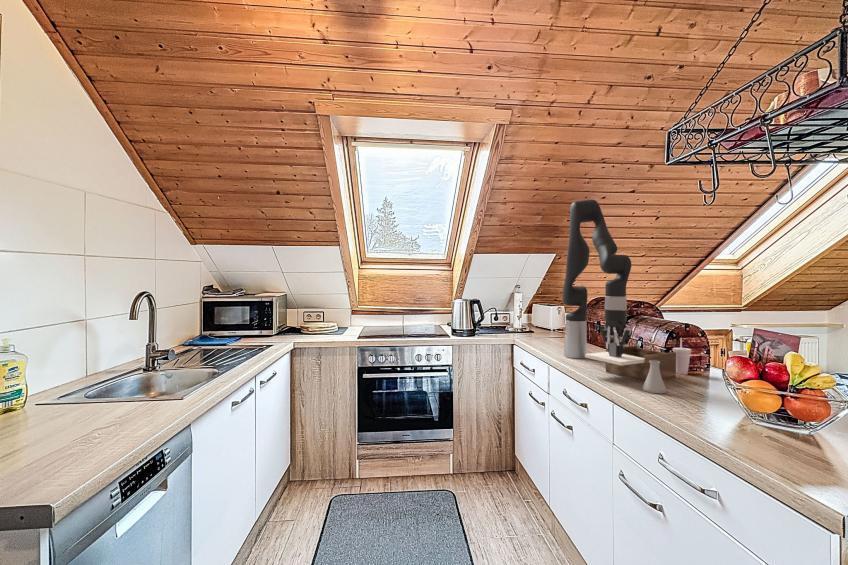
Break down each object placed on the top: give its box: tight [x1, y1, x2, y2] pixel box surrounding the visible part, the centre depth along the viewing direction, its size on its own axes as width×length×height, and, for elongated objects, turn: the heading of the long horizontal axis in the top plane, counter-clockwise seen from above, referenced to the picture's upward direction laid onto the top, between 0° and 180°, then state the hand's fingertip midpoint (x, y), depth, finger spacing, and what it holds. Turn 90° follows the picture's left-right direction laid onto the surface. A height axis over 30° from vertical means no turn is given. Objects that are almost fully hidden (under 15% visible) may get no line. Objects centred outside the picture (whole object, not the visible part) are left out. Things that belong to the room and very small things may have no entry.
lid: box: [585, 342, 645, 366], centre depth 159 cm, size 17×13×6 cm
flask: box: [641, 360, 668, 394], centre depth 142 cm, size 7×7×10 cm
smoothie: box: [672, 337, 692, 376], centre depth 167 cm, size 6×6×14 cm
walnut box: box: [605, 345, 677, 383], centre depth 165 cm, size 18×16×10 cm
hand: (615, 354), depth 159 cm, fingers closed on lid, 3 cm apart
